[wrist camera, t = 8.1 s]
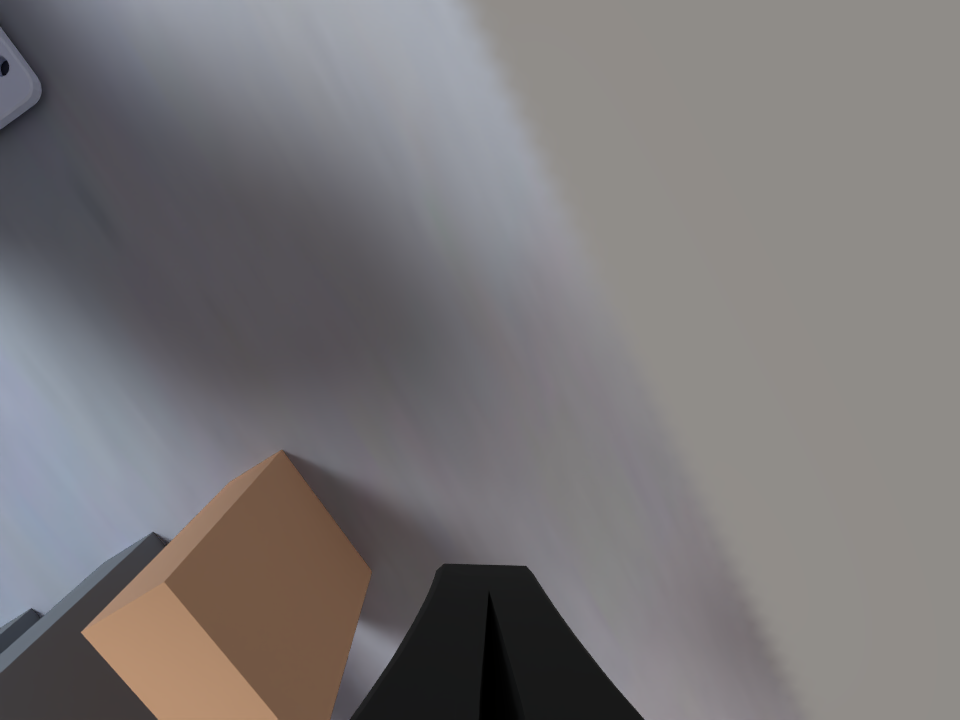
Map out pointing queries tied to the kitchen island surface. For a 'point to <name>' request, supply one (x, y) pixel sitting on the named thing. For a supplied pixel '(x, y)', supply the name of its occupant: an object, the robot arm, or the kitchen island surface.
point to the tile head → (241, 608)
